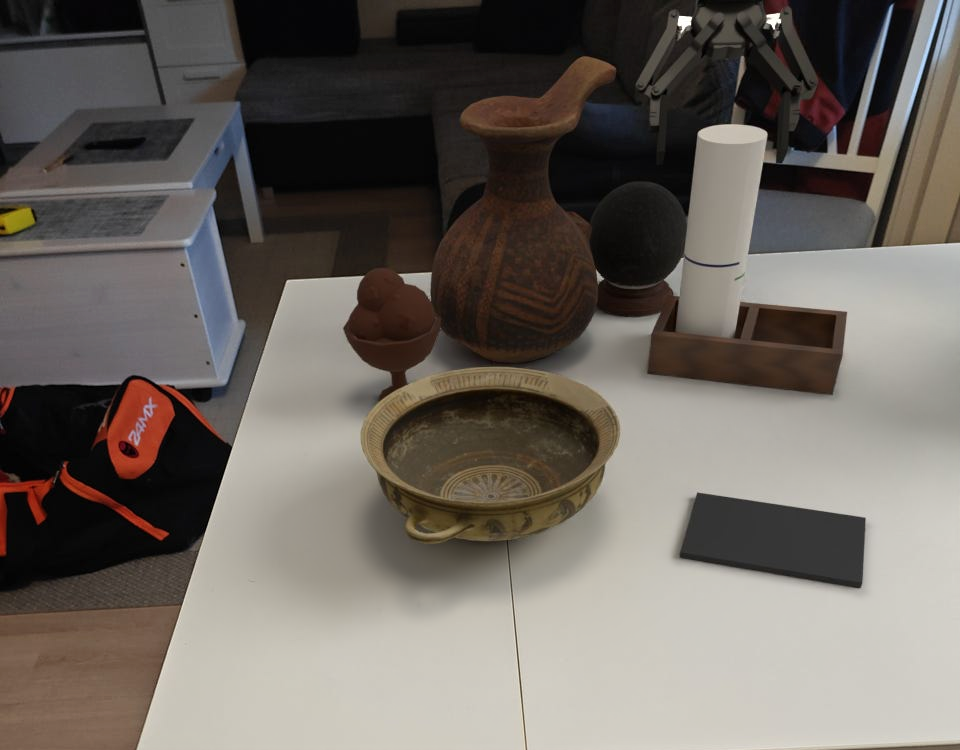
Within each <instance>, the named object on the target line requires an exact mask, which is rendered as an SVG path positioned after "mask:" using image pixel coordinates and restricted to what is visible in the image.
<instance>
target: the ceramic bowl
mask: <svg viewBox="0 0 960 750" xmlns="http://www.w3.org/2000/svg"><path fill="white" fill-rule="evenodd" d="M407 384H408V385H406V386H404V387H402V388H400V389H398V390H396V391H394V392H392V393H391V394H389V395H388V396H386V397H385V398H383V399H382V400H381V401H379V402H378V401H377V403H376V404H375V405H374V406H373V407H372V408H371V409H370V411H369V412H368V413H367V415H366V417H365V419H364V421H363V423H362V427H361V430H360V444H361V448H362V452H363V454H364V456H365V458H366V459H367V462H368V464H370V466H371V467H372V469H373V470H375V472H376V476H377V480H378V484H379V486H380V489H381V492H382V493H383V495H384V496H385V498H386V499H387V501H388V502H389V503H390V504H391V506H392V507H393V508H394V509H395V510H397V511H398V512H399V513H400V514H401V515H402V516H403V517H404V518H406V521H405V524H404V531H405V533H406V535H407V537H409V538H410V540H412V541H415V542H416V543H419V544H424V545H434V544H440V543H444V542H446V541H449V540H452V539H453V538H456V539H461V540H467V541H475V542H476V541H477V542H499V541H507V540H508V541H510V540H517V539H522V538H525V537H528V536H529V537H530V536H533V535H538V534H540V533H543V532H545V531H548V530H550V529H553V528H555V527H557V526H559V525H561V524H564V522H566V521H568V520H569V519H571V518H573V516H575V515H576V514H577V513H580V511H581V510H583V508H584V507H586V506H587V505H588V504H589V502H591V500H592V499H593V497H594V496H595V495H596V494H597V492H598V490H599V488H600V487H601V484H602V482H603V478H604V475H605V471H606V463H608V461H609V460H610V459H611V458H612V456H613V454H614V453H615V451H616V449H617V448H618V445H619V442H620V437H621V425H620V419H619V417H618V415H617V413H616V411H615V410H614V408H613V407H612V405H611V404H610V403H609V401H608V400H607V399H605V398H604V397H603V396H602V394H600V393H598V392H597V391H596V390H594V389H593V388H591V387H590V386H589V385H587V384H584V383H581V382H579V381H577V380H574V379H572V378H569V377H566V376H563V375H560V374H556V373H552V372H547V371H542V370H536V369H529V368H521V367H511V366H481V367H479V366H478V367H477V366H476V367H468V368H467V367H466V368H460V369H454V370H449V371H445V372H440V373H435V374H432V375H429V376H424V377H422V378H420V379H417V380H415V381H413V382H410V383H407ZM417 526H419V527H421V528H423V529H425V530H428V531H430V532H429V533H427V532H426V533H425V532H421V531H419V530H417V529H416V528H417Z"/></svg>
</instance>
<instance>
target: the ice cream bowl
mask: <svg viewBox="0 0 960 750" xmlns="http://www.w3.org/2000/svg"><path fill="white" fill-rule="evenodd" d="M356 300H357V305H356V306H355V307H354V308H353V309H352V311H351V313H350V314H349V317H348V320H347V321H346V323H345V324H344V326H343V327H342V330H343V332H344V335H345V338H346V340H347V342H348V344H349V345H350V347H351V348H352V349H353V351H354V352H355V353H356V354H357V356H358V357H359V358H360V359H361V361H363V362H365V363H366V364H367V365H369V366H370V367H372V368H375V369H377V370H380V371H384V372H389V374H390V378H391V385H390V386H388V387H386V388H384V389H382V391H381V392H380V394H379V396H378V400H377V403H378V402H379V401H381V400H382V399H383V398H385V397H386V396H388V395H389V394H391V393H392V392H394V391H396V390H398V389H400V388H402V387H404V386H406V385H408V384H409V383H408V382H407V381H408V380H407V374H406V372H407V371H408V370H410V369H412V368H414V367H416V366H417V365H419V364H420V363H423V362H424V360H426V358H427V357H429V355H430V354H431V352H432V350H433V348H434V346H435V344H436V342H437V340H438V337H439V334H440V331H441V328H440V324H441V318H440V317H439V316H438V315H437V314H436V313H435V311H434V307H433V304H432V303H431V299H430V298H429V297H428V295H427V294H426V291H424V290H423V289H420V287H417V286H416V285H415V284H410V283H405V280H404V278H403V277H402V276H401V275H400V274H398V273H397V272H396V271H394V270H392V269H390V268H387V267H378V268H374V269H372V270H370V271H368V272H367V273H366V274H365V275H364V276H363V277H362V279H361V280H360V281H359V283H358V286H357V290H356Z"/></svg>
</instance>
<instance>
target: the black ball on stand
mask: <svg viewBox="0 0 960 750" xmlns="http://www.w3.org/2000/svg"><path fill="white" fill-rule="evenodd" d="M589 224H590V225H591V226H592V232H591V236H590V243H589V244H590V249H591V253H592V256H593V260H594V264H595V268H596V272H597V273H598V274H599V275H600V276H601V277H602V279H601V280H600V281H598V300H597V305H596V308H597V309H598V310H600V311H602V312H603V313H607V314H611V315H615V316H620V317H645V316H652V315H656V314H659V313H661V311H662V309H663V306H664V304H665V302H666V300H667V297H668V295H671V296H674V292H673V289H672V288H671V286H670V284H669V283H668V282H667V281H666V278H668V277H669V276H670V275H671V274H672V273H673V271H675V269H676V268H677V267H678V265H679V263H680V262H681V260H682V257H683V256H684V250H685V242H686V233H687V224H688V220H687V217H686V213H685V210H684V209H683V206H682V204H681V203H680V201H679V200H678V199H677V197H676V195H674V194H673V193H672V192H671V191H670V190H669V189H667V188H666V187H664V186H662V185H660V184H658V183H656V182H652V181H642V180H641V181H639V180H638V181H631V182H626V183H625V184H622V185H620V186H618V187H616V188H614V189H613V190H612V191H610V192H609V193H608V194H607V195H606V196H604V197H603V198H602V200H601V201H600V202H599V204H598V205H597V206H596V208H595V210H594V211H593V213H592V216H591V219H590V221H589Z"/></svg>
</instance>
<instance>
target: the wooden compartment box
mask: <svg viewBox="0 0 960 750" xmlns="http://www.w3.org/2000/svg"><path fill="white" fill-rule="evenodd" d="M678 303H679V295H673V296H671V295H668V297H667V300H666V302H665V304H664V306H663V309H662V311H661V312H659V313H660V314H659V315H658V318H657V320H656V322H655V325H654V327H653V329H652V332H651V334H650V341H649V350H648V351H649V353H648V363H647V374H652V375H653V374H654V375H659V376H660V375H661V376H669V377H676V378H685V379H695V380H703V381H712V382H719V383H720V382H721V383H729V384H736V385H738V384H739V385H748V386H755V387H764V388H772V389H781V390H790V391H798V392H807V393H813V394H815V393H816V394H823V395H824V394H825V395H833V394H834V390H835V387H836V382H837V378H838V375H839V371H840V367H841V363H842V359H843V356H844V355H843V354H844V349H845V339H846V329H847V328H846V327H847V318H848V311H844V310H833V309H824V308H822V309H821V308H811V307H800V306H789V305H781V304H778V305H777V304H767V303H757V302H745V301H740V306H739V312H738V318H737V324H736V331H735V337H734V338H724V337H714V336H705V335H695V334H685V333H675V330H676V321H677V312H678Z"/></svg>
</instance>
